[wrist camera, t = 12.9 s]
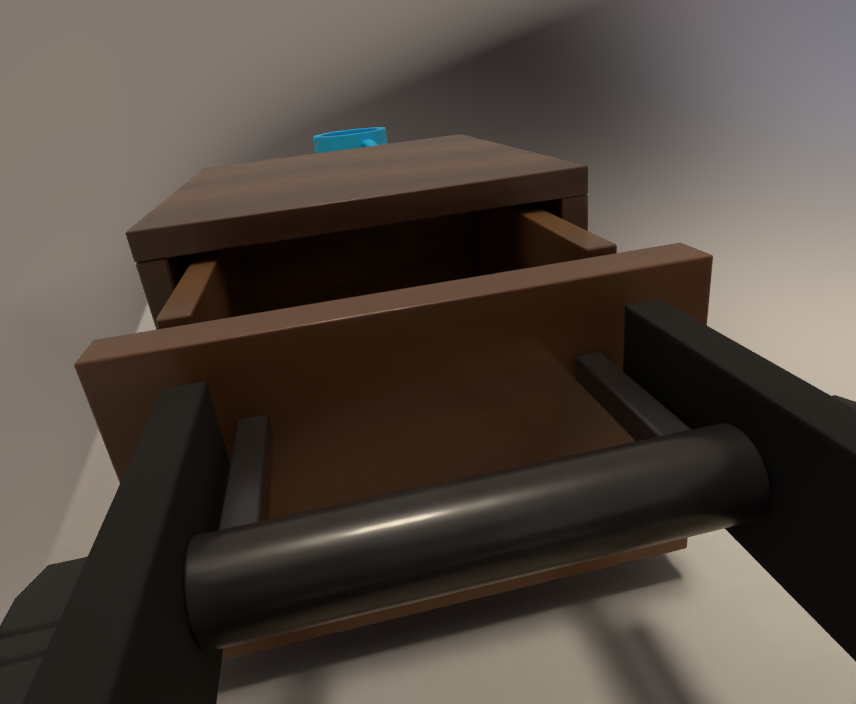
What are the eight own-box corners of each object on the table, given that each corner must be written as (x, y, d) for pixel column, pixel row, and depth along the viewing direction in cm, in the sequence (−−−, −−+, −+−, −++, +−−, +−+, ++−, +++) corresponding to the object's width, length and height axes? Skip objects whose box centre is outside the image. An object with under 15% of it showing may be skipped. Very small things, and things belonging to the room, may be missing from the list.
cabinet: (587, 433, 23) (588, 165, 19) (213, 511, 21) (124, 232, 17) (475, 302, 37) (462, 133, 33) (246, 342, 35) (203, 168, 31)
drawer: (842, 728, 11) (945, 344, 8) (141, 937, 10) (-86, 555, 6) (509, 341, 29) (500, 171, 26) (241, 390, 27) (195, 214, 24)
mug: (315, 208, 72) (302, 136, 69) (375, 195, 76) (365, 127, 72) (358, 221, 63) (346, 139, 59) (425, 206, 66) (417, 127, 63)
